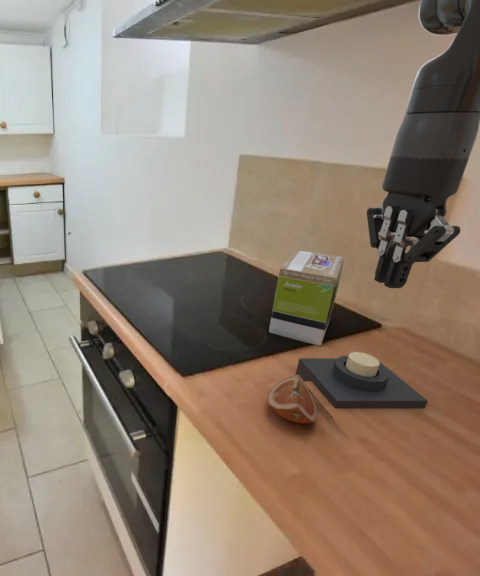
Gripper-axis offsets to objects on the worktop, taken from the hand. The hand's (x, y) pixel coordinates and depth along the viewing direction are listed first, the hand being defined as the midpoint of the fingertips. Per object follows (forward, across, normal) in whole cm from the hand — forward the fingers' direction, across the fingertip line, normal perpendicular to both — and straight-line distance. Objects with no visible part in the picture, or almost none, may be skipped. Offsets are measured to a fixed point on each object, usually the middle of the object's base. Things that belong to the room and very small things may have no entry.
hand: (387, 283), depth 53 cm
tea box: (+19, +23, -3) cm, 30 cm away
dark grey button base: (+19, 0, 0) cm, 19 cm away
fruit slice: (+19, -5, +12) cm, 23 cm away
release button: (+14, 0, 0) cm, 14 cm away
